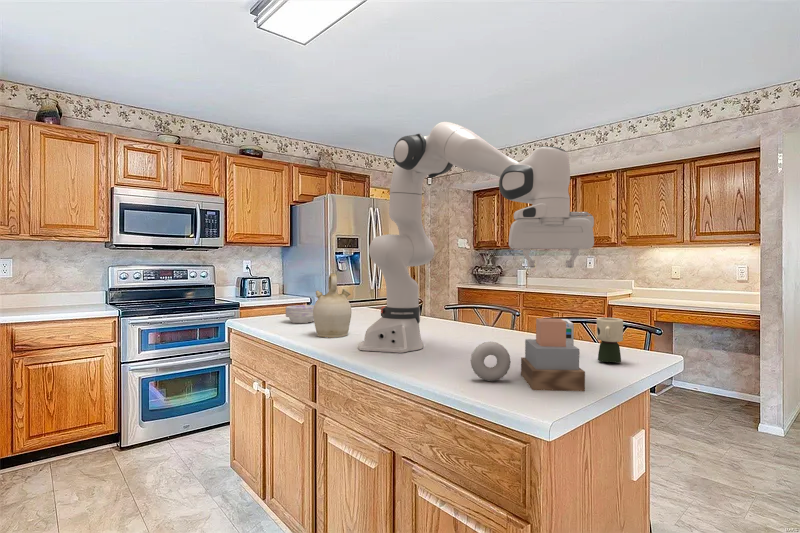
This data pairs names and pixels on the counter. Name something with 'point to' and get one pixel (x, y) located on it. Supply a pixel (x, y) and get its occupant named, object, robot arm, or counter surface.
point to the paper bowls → (300, 313)
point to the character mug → (609, 339)
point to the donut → (492, 372)
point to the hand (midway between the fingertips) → (550, 267)
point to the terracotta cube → (551, 332)
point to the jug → (332, 311)
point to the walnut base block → (552, 378)
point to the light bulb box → (569, 331)
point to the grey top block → (552, 356)
